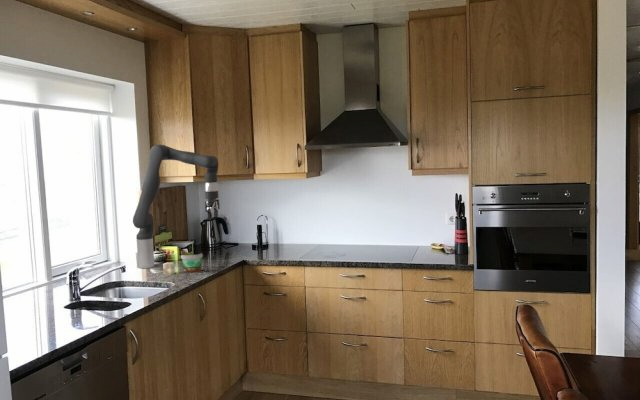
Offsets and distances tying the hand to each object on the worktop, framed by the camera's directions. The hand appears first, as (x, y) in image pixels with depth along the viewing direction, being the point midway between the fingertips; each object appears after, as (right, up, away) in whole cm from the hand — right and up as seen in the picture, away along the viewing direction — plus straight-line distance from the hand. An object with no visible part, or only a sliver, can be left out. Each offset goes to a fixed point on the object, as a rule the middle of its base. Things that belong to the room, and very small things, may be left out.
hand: (213, 218), depth 304 cm
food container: (-10, -31, -6) cm, 33 cm away
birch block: (-23, -31, -8) cm, 40 cm away
